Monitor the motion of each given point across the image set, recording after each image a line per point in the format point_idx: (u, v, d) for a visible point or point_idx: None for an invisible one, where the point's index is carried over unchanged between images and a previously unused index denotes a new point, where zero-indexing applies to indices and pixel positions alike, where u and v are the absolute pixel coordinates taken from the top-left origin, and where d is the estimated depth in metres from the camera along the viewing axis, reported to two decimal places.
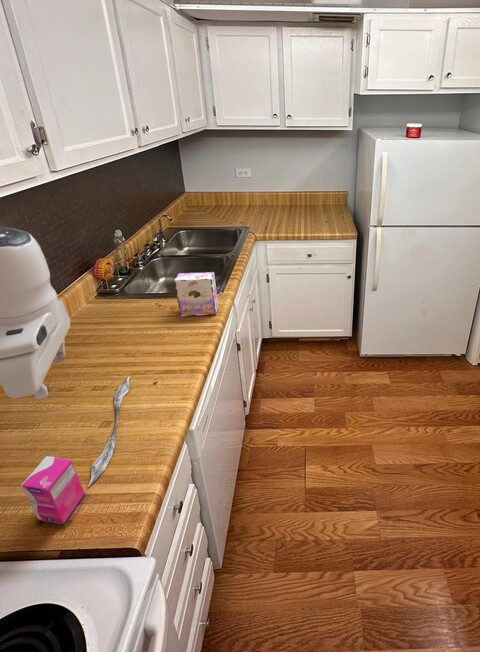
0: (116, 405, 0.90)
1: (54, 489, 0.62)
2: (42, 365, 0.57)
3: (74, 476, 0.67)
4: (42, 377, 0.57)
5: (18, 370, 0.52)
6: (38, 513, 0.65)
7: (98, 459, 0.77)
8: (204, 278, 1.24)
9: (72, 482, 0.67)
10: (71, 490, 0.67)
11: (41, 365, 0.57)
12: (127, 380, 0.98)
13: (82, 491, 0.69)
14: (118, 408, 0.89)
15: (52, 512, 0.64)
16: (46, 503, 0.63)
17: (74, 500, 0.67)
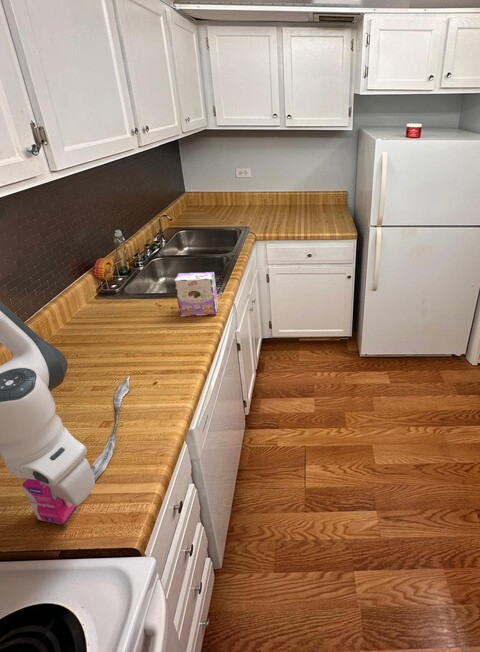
0: (116, 405, 0.90)
1: None
2: None
3: None
4: None
5: (82, 475, 0.60)
6: (38, 513, 0.65)
7: (98, 459, 0.77)
8: (204, 278, 1.24)
9: None
10: None
11: None
12: (127, 380, 0.98)
13: None
14: (118, 408, 0.89)
15: (52, 512, 0.64)
16: (46, 503, 0.63)
17: None
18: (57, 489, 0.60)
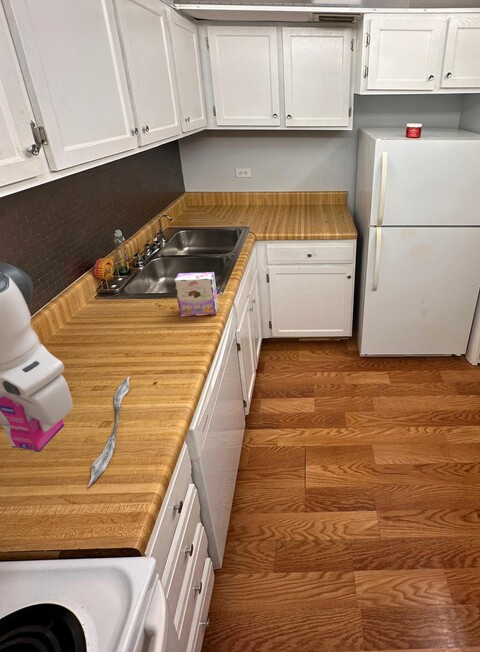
0: (116, 405, 0.90)
1: None
2: None
3: None
4: None
5: (58, 392, 0.55)
6: (11, 438, 0.60)
7: (98, 459, 0.77)
8: (204, 278, 1.24)
9: None
10: None
11: None
12: (127, 380, 0.98)
13: (61, 420, 0.64)
14: (118, 408, 0.89)
15: (26, 436, 0.59)
16: (20, 425, 0.58)
17: (51, 428, 0.62)
18: (31, 407, 0.55)
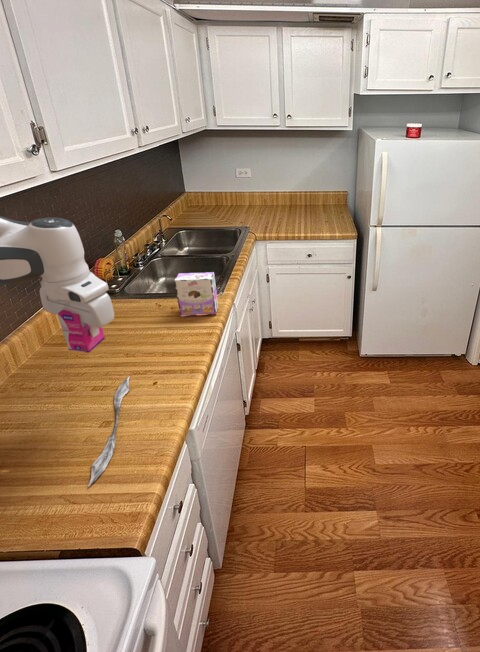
0: (116, 405, 0.90)
1: None
2: None
3: None
4: None
5: (105, 303, 0.78)
6: (69, 342, 0.82)
7: (98, 459, 0.77)
8: (204, 278, 1.24)
9: None
10: None
11: None
12: (127, 380, 0.98)
13: (102, 334, 0.86)
14: (118, 408, 0.89)
15: (80, 339, 0.81)
16: (76, 330, 0.80)
17: (96, 337, 0.84)
18: (85, 314, 0.78)
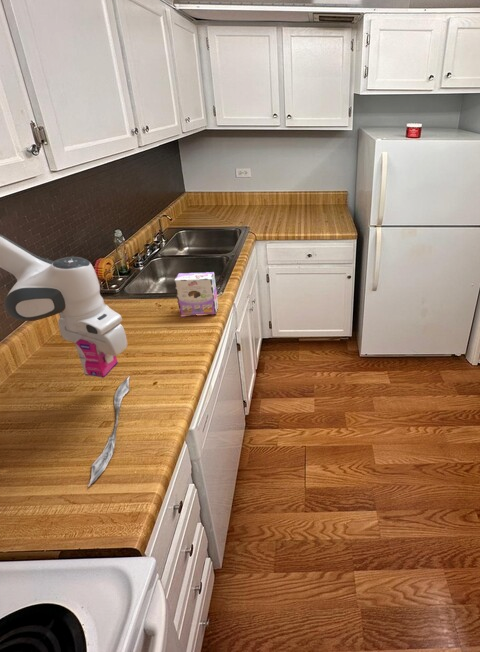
0: (116, 405, 0.90)
1: None
2: None
3: None
4: None
5: (119, 334, 0.85)
6: (85, 368, 0.89)
7: (98, 459, 0.77)
8: (204, 278, 1.24)
9: None
10: None
11: None
12: (127, 380, 0.98)
13: (116, 359, 0.94)
14: (118, 408, 0.89)
15: (96, 366, 0.88)
16: (92, 357, 0.87)
17: (110, 363, 0.92)
18: (101, 344, 0.85)
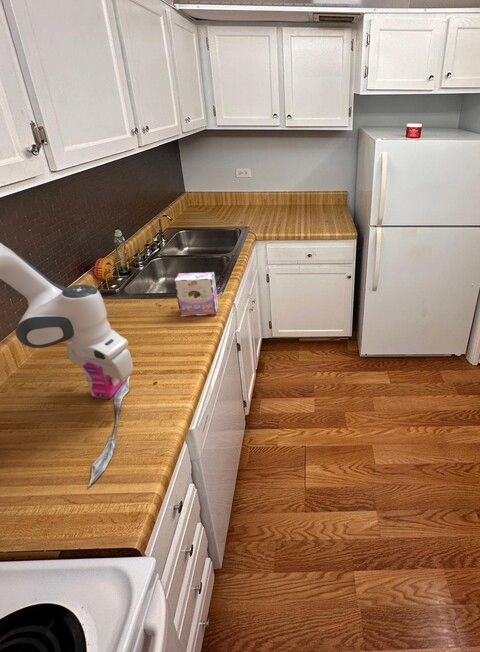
0: (116, 405, 0.90)
1: None
2: None
3: None
4: None
5: (125, 358, 0.88)
6: (92, 390, 0.92)
7: (98, 459, 0.77)
8: (204, 278, 1.24)
9: None
10: None
11: None
12: (127, 380, 0.98)
13: (121, 380, 0.96)
14: (118, 408, 0.89)
15: (102, 388, 0.91)
16: (99, 380, 0.90)
17: None
18: (108, 368, 0.88)
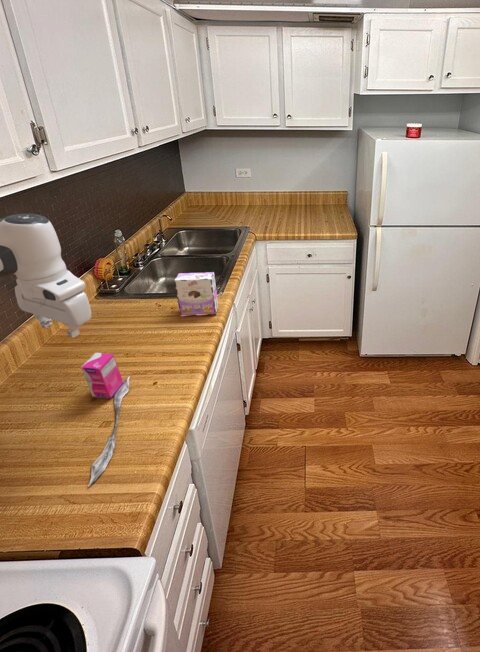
0: (116, 405, 0.90)
1: (103, 370, 0.89)
2: None
3: (116, 367, 0.94)
4: None
5: (81, 302, 0.76)
6: (92, 390, 0.92)
7: (98, 459, 0.77)
8: (204, 278, 1.24)
9: (114, 371, 0.94)
10: (114, 376, 0.94)
11: None
12: (127, 380, 0.98)
13: (121, 380, 0.96)
14: (118, 408, 0.89)
15: (102, 388, 0.91)
16: (98, 380, 0.90)
17: (116, 384, 0.94)
18: (61, 313, 0.76)
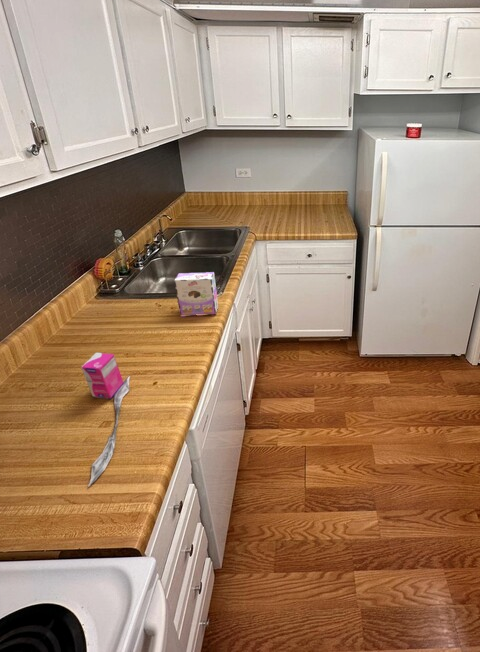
0: (116, 405, 0.90)
1: (103, 370, 0.89)
2: None
3: (116, 367, 0.94)
4: None
5: None
6: (93, 390, 0.92)
7: (98, 459, 0.77)
8: (204, 278, 1.24)
9: (115, 370, 0.94)
10: (115, 376, 0.94)
11: None
12: (127, 380, 0.98)
13: (121, 380, 0.96)
14: (118, 408, 0.89)
15: (102, 388, 0.91)
16: (98, 380, 0.90)
17: (116, 384, 0.94)
18: None
